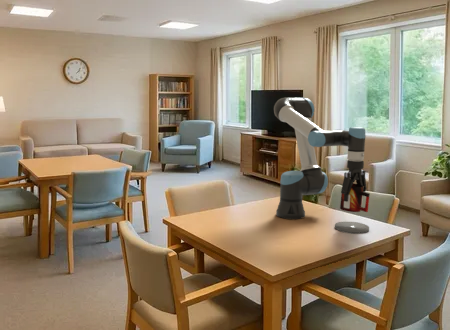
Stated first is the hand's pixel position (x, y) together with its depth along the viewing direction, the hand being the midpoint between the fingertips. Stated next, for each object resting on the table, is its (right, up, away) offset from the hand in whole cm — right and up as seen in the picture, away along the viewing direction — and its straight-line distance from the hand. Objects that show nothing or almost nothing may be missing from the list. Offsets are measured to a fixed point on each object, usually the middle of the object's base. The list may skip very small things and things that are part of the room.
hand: (353, 206), depth 216 cm
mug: (+1, -2, 0) cm, 2 cm away
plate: (0, -11, +2) cm, 11 cm away
